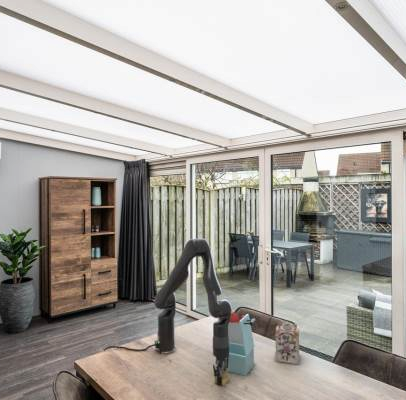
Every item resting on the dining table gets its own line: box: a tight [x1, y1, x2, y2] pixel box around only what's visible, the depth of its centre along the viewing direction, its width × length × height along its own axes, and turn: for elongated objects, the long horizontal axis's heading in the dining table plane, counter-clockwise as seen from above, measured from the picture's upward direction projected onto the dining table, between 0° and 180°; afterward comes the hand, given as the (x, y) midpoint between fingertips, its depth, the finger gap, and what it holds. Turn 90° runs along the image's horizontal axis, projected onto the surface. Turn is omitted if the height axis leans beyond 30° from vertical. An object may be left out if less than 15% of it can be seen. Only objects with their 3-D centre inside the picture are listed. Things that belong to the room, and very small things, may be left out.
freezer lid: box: [239, 313, 257, 356], centre depth 162 cm, size 16×13×5 cm
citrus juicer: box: [228, 311, 246, 345], centre depth 190 cm, size 16×17×20 cm
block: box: [214, 370, 229, 386], centre depth 152 cm, size 4×4×4 cm
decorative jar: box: [274, 322, 300, 365], centre depth 174 cm, size 12×12×18 cm
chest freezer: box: [219, 342, 255, 376], centre depth 166 cm, size 16×13×9 cm
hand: (221, 381), depth 151 cm, fingers closed on block, 4 cm apart
